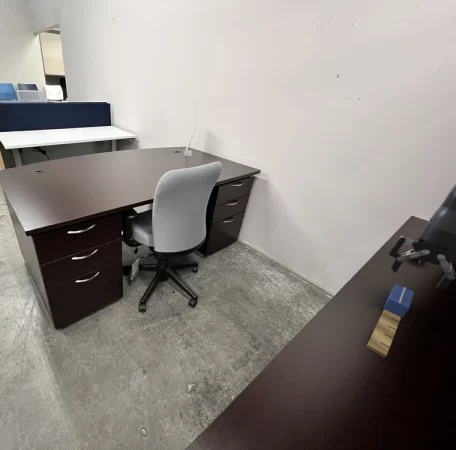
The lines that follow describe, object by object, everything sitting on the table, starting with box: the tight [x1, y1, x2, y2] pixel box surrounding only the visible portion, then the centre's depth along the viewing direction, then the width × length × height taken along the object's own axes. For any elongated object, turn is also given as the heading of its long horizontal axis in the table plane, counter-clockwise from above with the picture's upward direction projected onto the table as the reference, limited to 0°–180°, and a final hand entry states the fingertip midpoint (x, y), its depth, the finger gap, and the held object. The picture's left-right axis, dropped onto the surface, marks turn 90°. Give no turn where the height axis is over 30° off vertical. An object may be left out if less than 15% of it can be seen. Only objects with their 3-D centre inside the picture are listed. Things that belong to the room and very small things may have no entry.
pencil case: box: [383, 283, 415, 319], centre depth 68 cm, size 12×4×4 cm, turn 129°
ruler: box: [365, 309, 402, 359], centre depth 61 cm, size 18×4×1 cm, turn 129°
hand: (415, 279), depth 64 cm, fingers open, 8 cm apart
